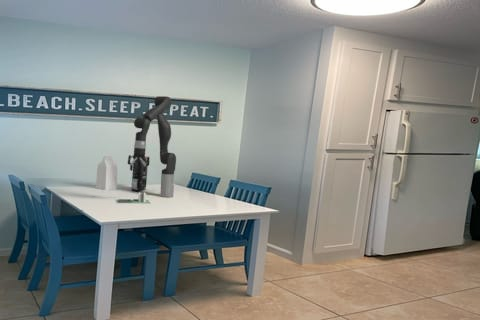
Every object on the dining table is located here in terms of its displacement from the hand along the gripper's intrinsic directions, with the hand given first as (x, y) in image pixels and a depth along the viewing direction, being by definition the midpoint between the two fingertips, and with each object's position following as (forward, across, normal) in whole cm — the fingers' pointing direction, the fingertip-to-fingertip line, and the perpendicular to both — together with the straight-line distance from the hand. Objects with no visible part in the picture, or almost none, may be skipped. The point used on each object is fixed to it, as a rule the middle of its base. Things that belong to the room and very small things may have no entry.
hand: (137, 171), depth 308 cm
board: (+21, +1, +3) cm, 22 cm away
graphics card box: (+19, +6, -57) cm, 61 cm away
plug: (+20, -5, +1) cm, 21 cm away
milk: (+20, +32, -57) cm, 69 cm away
